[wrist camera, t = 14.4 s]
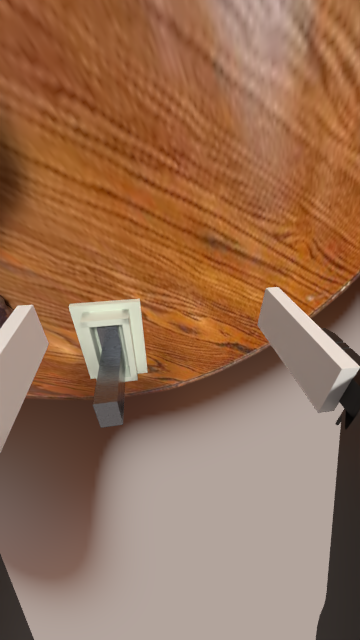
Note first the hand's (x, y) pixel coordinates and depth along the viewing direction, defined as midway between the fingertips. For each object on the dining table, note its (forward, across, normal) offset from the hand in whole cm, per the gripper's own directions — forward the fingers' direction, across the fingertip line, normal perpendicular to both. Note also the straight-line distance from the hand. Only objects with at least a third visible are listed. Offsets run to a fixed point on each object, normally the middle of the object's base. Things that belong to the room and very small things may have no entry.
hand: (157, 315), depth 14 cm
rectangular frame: (+27, -8, -23) cm, 36 cm away
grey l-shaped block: (+26, -8, -23) cm, 35 cm away
